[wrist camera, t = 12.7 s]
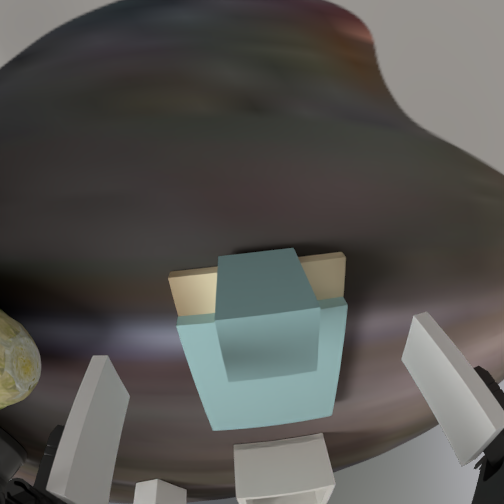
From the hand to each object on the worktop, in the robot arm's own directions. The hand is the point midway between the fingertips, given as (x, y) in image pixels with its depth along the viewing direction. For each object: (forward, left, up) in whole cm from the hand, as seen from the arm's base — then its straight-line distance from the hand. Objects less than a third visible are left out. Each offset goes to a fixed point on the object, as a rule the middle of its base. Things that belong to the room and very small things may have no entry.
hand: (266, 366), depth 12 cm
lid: (0, -7, -7) cm, 10 cm away
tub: (+1, -28, -8) cm, 29 cm away
